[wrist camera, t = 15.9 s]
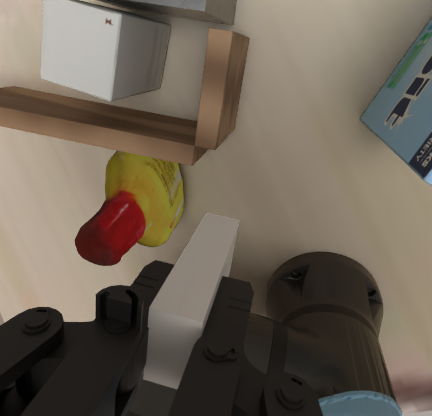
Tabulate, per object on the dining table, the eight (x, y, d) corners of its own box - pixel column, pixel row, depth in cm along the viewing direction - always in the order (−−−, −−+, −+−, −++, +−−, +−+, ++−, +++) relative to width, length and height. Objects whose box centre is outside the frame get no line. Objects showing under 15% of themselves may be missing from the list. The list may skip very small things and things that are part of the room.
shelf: (231, 144, 44) (212, 170, 34) (14, 101, 48) (-60, 113, 38) (249, 38, 39) (232, 31, 29) (5, 0, 43) (-82, -17, 33)
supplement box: (112, 7, 41) (40, -13, 29) (173, 25, 40) (123, 13, 29) (104, 73, 44) (36, 79, 33) (160, 91, 43) (111, 103, 32)
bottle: (199, 214, 49) (140, 307, 31) (156, 220, 50) (78, 310, 32) (176, 127, 45) (93, 175, 27) (131, 137, 46) (25, 188, 28)
